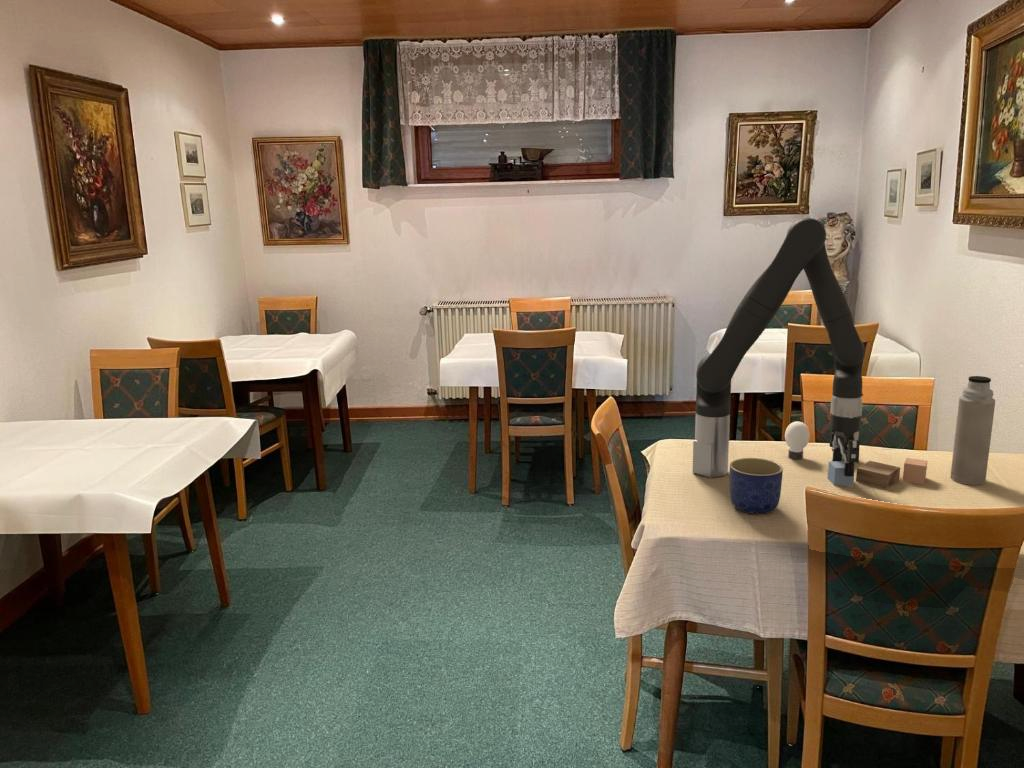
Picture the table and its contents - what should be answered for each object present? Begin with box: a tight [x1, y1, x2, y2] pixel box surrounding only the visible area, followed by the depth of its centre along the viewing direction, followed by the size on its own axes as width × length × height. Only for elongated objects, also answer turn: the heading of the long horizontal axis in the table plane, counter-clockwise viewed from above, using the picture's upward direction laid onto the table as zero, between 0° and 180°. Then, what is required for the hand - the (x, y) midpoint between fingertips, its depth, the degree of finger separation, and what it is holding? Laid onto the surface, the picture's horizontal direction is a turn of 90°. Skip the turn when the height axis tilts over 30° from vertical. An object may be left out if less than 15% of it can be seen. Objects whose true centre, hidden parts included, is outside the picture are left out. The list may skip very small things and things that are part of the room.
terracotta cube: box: [902, 457, 928, 485], centre depth 197 cm, size 5×5×5 cm
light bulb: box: [784, 420, 811, 460], centre depth 216 cm, size 7×7×11 cm
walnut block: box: [855, 460, 901, 490], centre depth 197 cm, size 8×8×4 cm
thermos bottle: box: [949, 375, 996, 486], centre depth 192 cm, size 8×8×28 cm
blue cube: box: [827, 461, 856, 486], centre depth 197 cm, size 5×5×5 cm
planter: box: [729, 457, 784, 515], centre depth 182 cm, size 12×12×11 cm
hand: (842, 470), depth 197 cm, fingers open, 8 cm apart
